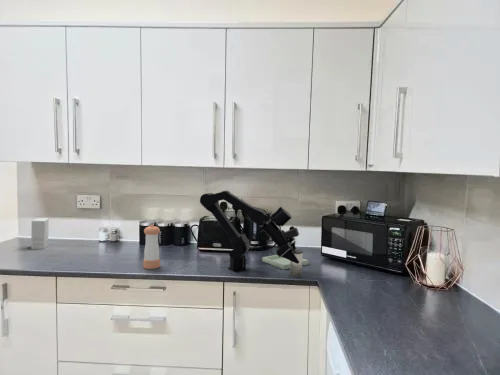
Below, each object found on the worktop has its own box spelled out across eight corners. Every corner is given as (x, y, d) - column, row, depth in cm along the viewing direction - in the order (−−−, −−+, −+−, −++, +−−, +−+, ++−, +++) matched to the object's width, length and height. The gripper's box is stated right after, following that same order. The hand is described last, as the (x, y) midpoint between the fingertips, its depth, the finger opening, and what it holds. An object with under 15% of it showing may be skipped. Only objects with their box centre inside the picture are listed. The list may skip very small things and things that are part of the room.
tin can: (295, 278, 140) (296, 252, 140) (286, 274, 145) (287, 249, 144) (304, 275, 143) (305, 250, 143) (295, 272, 148) (296, 248, 147)
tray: (283, 269, 152) (283, 265, 152) (262, 261, 165) (262, 257, 165) (308, 264, 161) (308, 260, 161) (286, 256, 174) (286, 253, 174)
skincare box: (35, 246, 184) (35, 218, 184) (49, 245, 186) (49, 217, 186) (30, 249, 176) (30, 220, 176) (45, 249, 178) (44, 220, 178)
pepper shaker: (155, 269, 147) (155, 226, 146) (140, 268, 149) (140, 225, 148) (162, 265, 154) (163, 224, 153) (148, 263, 156) (148, 223, 155)
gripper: (285, 224, 135) (311, 253, 132) (291, 218, 153) (314, 243, 151) (265, 242, 137) (291, 271, 135) (273, 234, 155) (296, 259, 153)
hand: (299, 260), depth 143 cm, fingers open, 8 cm apart
